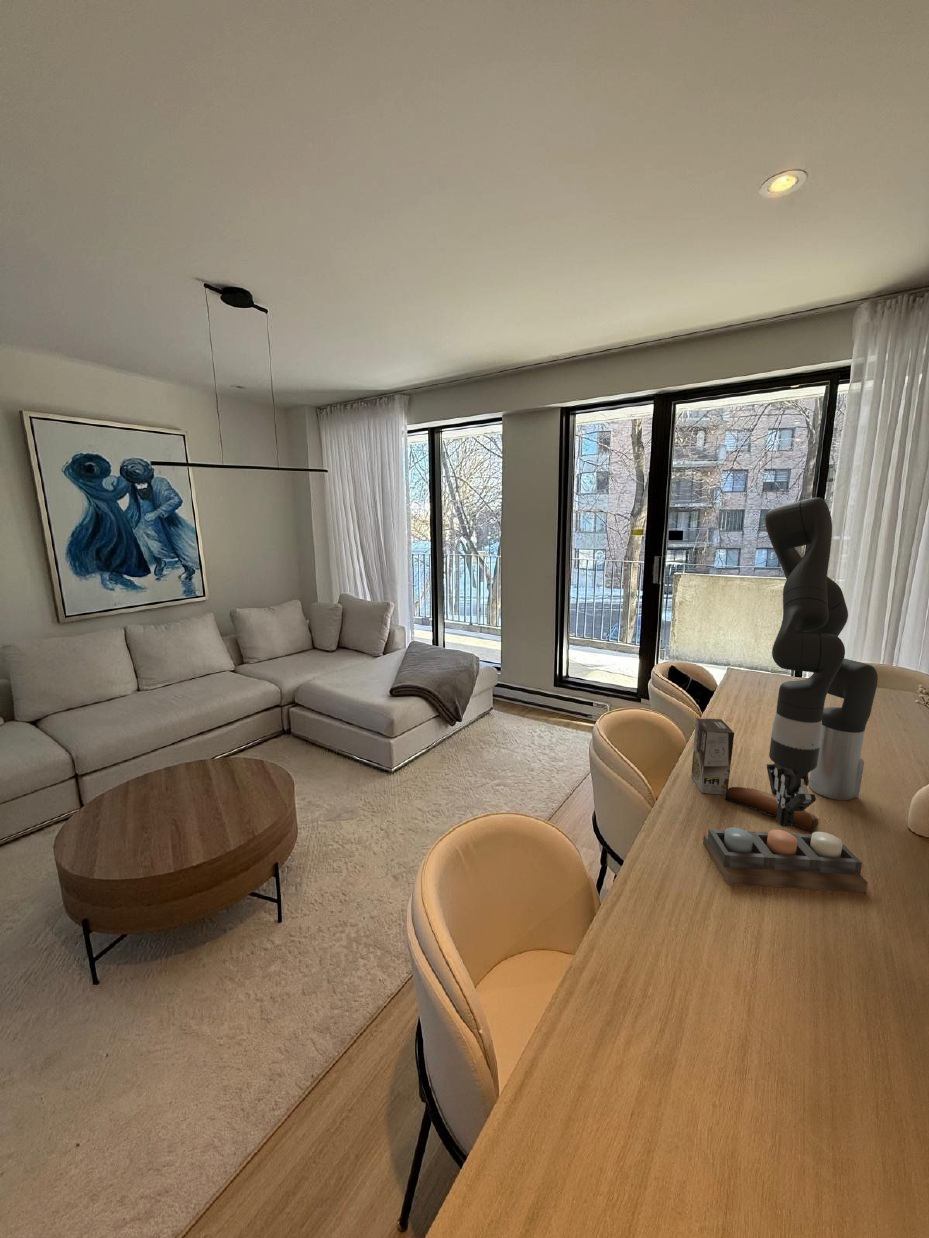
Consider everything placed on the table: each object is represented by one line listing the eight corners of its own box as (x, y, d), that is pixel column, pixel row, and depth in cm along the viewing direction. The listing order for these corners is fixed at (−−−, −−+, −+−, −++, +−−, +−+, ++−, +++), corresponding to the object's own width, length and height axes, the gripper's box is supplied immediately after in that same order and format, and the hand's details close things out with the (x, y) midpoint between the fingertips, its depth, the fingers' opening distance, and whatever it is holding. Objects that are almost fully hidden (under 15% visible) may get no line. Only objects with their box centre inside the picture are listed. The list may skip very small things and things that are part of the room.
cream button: (830, 846, 99) (832, 832, 99) (846, 862, 94) (848, 848, 94) (804, 844, 100) (806, 831, 99) (818, 860, 95) (821, 846, 94)
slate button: (744, 841, 100) (746, 828, 100) (756, 857, 96) (757, 843, 95) (719, 840, 101) (720, 826, 100) (729, 856, 96) (731, 841, 96)
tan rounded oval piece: (787, 843, 100) (789, 830, 99) (800, 859, 95) (802, 845, 95) (761, 842, 100) (763, 828, 100) (774, 858, 96) (775, 844, 95)
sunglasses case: (823, 818, 114) (822, 800, 110) (813, 844, 110) (811, 826, 107) (737, 787, 127) (734, 770, 123) (726, 809, 123) (722, 793, 120)
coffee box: (728, 795, 123) (735, 733, 120) (700, 793, 124) (706, 731, 121) (716, 776, 132) (722, 718, 129) (690, 775, 133) (695, 716, 130)
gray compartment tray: (825, 849, 103) (828, 829, 102) (866, 891, 91) (869, 869, 91) (702, 843, 105) (704, 823, 104) (727, 883, 93) (729, 862, 93)
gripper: (840, 755, 86) (825, 847, 90) (797, 725, 99) (786, 805, 103) (793, 754, 87) (781, 844, 90) (757, 723, 100) (747, 803, 103)
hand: (783, 823), depth 97 cm, fingers closed
